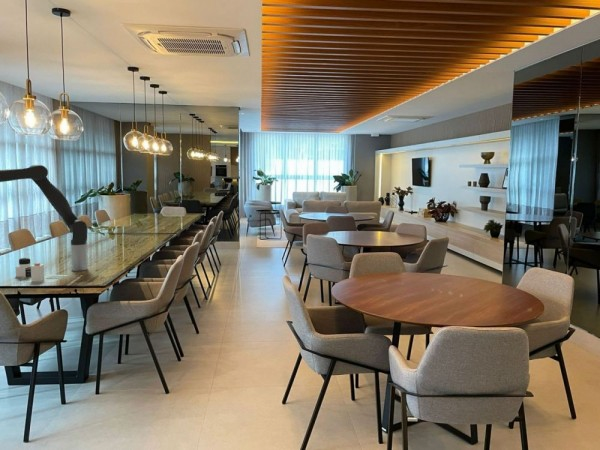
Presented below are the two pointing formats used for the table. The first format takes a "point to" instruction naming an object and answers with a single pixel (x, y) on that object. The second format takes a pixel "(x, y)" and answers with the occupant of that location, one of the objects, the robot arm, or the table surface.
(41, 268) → the white bottle
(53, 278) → the post board
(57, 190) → the robot arm
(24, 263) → the medicine bottle
